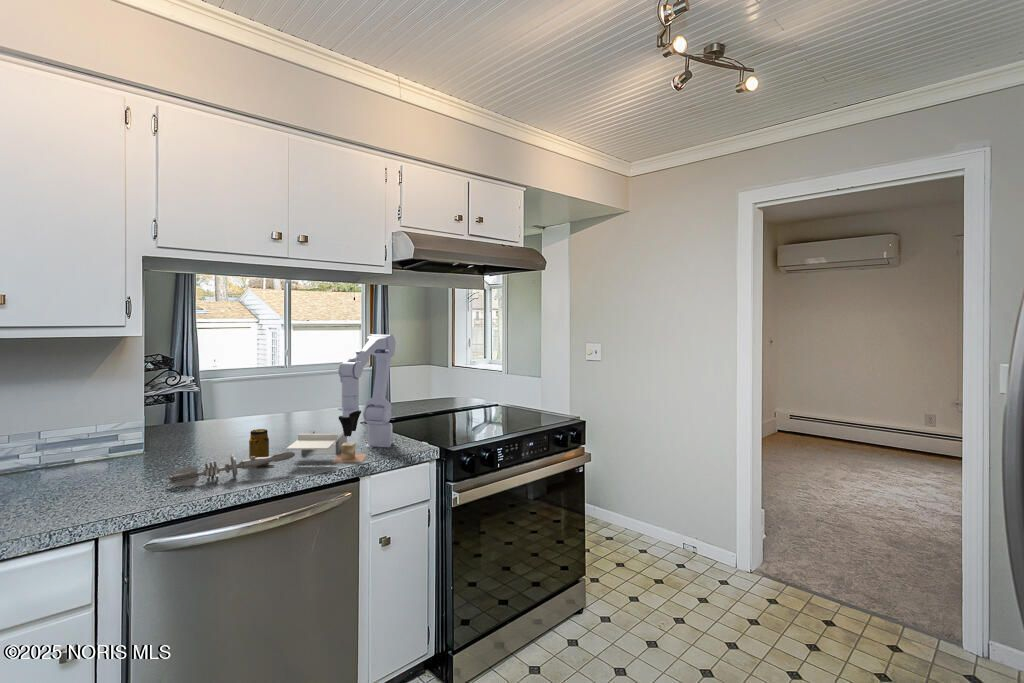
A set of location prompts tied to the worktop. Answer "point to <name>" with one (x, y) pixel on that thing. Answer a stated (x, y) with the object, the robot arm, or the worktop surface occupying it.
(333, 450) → the case
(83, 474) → the worktop surface
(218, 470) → the spaceship
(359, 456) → the tile
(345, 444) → the block
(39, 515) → the worktop surface
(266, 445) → the condiment
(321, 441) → the cover
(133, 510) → the worktop surface
